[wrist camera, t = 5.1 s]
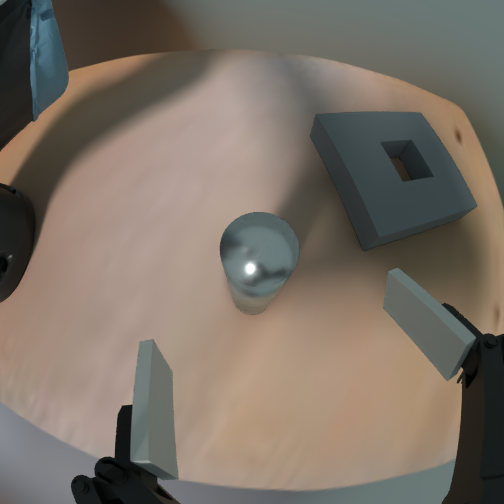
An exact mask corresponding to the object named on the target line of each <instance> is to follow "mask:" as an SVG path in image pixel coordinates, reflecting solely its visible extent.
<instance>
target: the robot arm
mask: <svg viewBox="0 0 504 504" xmlns="http://www.w3.org/2000/svg"><path fill="white" fill-rule="evenodd" d="M68 80H69V73H68V67H67V63H66V58H65V54H64V50H63V46H62V42H61V38H60V34H59V30H58V26H57V22H56V19H55V17H54V12H53V8H52V2H51V0H0V151H1V150H2V149H3V148H4V147H5V146H6V145H7V144H8V143H9V142H10V141H11V140H12V139H13V138H14V137H15V136H16V135H17V134H18V133H19V132H20V131H21V130H22V129H23V128H24V127H26V126H27V125H28V124H29V123H30V122H31V121H33V122H35V121H36V120H37V119H38V116H39V115H40V114H41V113H42V112H43V111H44V110H45V109H46V108H48V107H49V106H50V105H51V104H52V103H54V102H55V101H56V100H57V99H58V98H60V97H61V95H62V94H63V93H64V92H65V90H66V88H67V85H68ZM34 229H35V216H34V209H33V206H32V203H31V201H30V200H29V198H28V197H27V196H25V195H24V194H23V193H22V192H21V191H20V190H18V189H17V188H15V187H12V186H8V185H5V184H2V183H0V302H2V301H4V300H5V299H6V298H7V297H8V296H9V295H10V294H11V293H12V292H13V290H14V289H15V288H16V286H17V284H18V283H19V281H20V279H21V277H22V275H23V272H24V270H25V268H26V265H27V262H28V259H29V256H30V252H31V248H32V244H33V238H34ZM383 309H384V310H385V311H386V312H387V313H388V314H389V315H390V316H391V317H392V318H393V319H394V320H395V322H396V323H397V324H398V325H399V326H400V327H401V328H402V329H403V330H404V332H405V333H406V334H407V335H408V336H409V337H410V338H411V339H412V341H413V342H414V343H415V344H416V345H417V346H418V347H419V349H420V350H421V351H422V352H423V353H424V354H425V355H426V357H427V358H428V359H429V360H430V361H431V363H432V364H433V365H434V366H435V367H436V368H437V370H438V371H439V372H440V373H441V375H442V376H443V377H444V378H445V379H446V381H448V380H450V379H451V378H452V377H454V376H455V375H456V374H457V373H458V371H459V369H460V368H461V367H462V368H463V372H462V373H461V375H460V377H459V378H458V380H457V383H459V382H460V380H461V379H462V382H461V384H462V408H461V423H460V434H459V442H458V450H457V456H456V462H455V468H454V473H453V477H452V482H451V486H450V490H449V492H448V494H447V496H446V497H445V498H444V500H443V502H442V504H504V334H501V335H499V336H494V335H493V334H489V333H488V334H484V335H483V334H482V333H481V332H480V331H479V330H478V329H477V328H476V327H475V326H473V325H472V324H471V323H470V322H469V321H468V320H467V319H466V318H464V316H463V315H462V314H459V312H458V311H457V310H456V309H455V308H454V307H453V306H450V305H448V304H446V303H444V304H442V305H441V304H440V303H439V302H438V301H437V300H436V299H434V298H433V297H432V296H431V295H430V294H429V293H428V292H426V291H425V290H424V289H423V288H422V287H421V286H419V285H418V284H417V283H416V282H415V281H413V280H412V279H411V278H410V277H409V276H407V275H406V274H405V273H404V272H403V271H401V270H400V269H399V268H395V269H393V270H390V271H388V274H387V283H386V291H385V298H384V305H383ZM116 433H117V434H116V442H115V458H112V457H103V458H101V459H99V461H98V462H97V463H96V465H95V468H94V469H95V476H96V477H94V478H89V477H87V476H84V475H78V476H76V477H75V478H74V479H73V480H72V483H71V489H72V493H73V495H74V498H75V501H76V503H77V504H180V503H179V502H178V501H177V500H176V499H174V498H173V497H172V496H171V495H170V494H169V493H168V492H167V491H166V490H165V489H163V488H162V487H161V486H160V485H159V484H158V483H157V477H158V478H160V479H162V480H175V479H179V477H178V467H177V457H176V445H175V430H174V411H173V372H172V370H171V369H170V367H169V365H168V364H167V362H166V360H165V359H164V357H163V355H162V354H161V352H160V350H159V349H158V347H157V345H156V343H155V342H154V340H153V339H151V340H146V341H141V342H140V344H139V351H138V359H137V367H136V375H135V385H134V396H133V405H124V406H122V407H121V409H120V411H119V413H118V417H117V428H116Z"/></svg>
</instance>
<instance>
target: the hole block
mask: <svg viewBox="0 0 504 504" xmlns="http://www.w3.org/2000/svg"><path fill="white" fill-rule="evenodd" d="M310 137H311V139H312V141H313V143H314V145H315V147H316V148H317V150H318V152H319V154H320V156H321V158H322V160H323V162H324V164H325V166H326V168H327V170H328V172H329V174H330V176H331V178H332V180H333V182H334V185H335V187H336V189H337V191H338V193H339V195H340V197H341V200H342V202H343V204H344V206H345V209H346V211H347V213H348V215H349V218H350V220H351V222H352V225H353V227H354V230H355V232H356V234H357V237H358V239H359V242H360V244H361V247H362V250H363V251H364V250H367V249H370V248H374V247H377V246H380V245H383V244H386V243H389V242H392V241H395V240H398V239H401V238H405V237H408V236H411V235H414V234H417V233H420V232H422V231H425V230H428V229H431V228H434V227H437V226H440V225H443V224H446V223H449V222H451V221H454V220H457V219H460V218H462V217H463V216H465V215H466V214H467V213H469V212H470V211H472V210H473V209H474V208H476V207H477V204H476V202H475V200H474V198H473V196H472V194H471V192H470V190H469V188H468V186H467V184H466V182H465V180H464V178H463V176H462V175H461V173H460V171H459V169H458V168H457V166H456V164H455V162H454V161H453V159H452V157H451V156H450V154H449V153H448V151H447V149H446V148H445V146H444V145H443V143H442V142H441V140H440V139H439V137H438V136H437V134H436V133H435V131H434V130H433V129H432V127H431V126H430V124H429V123H428V122H427V120H426V119H425V118H424V116H423V115H422V114H421V113H416V112H345V113H329V114H316V117H315V120H314V124H313V127H312V131H311V134H310ZM395 157H399V158H400V159H401V161H402V163H403V164H404V166H405V168H406V170H407V171H408V173H409V175H410V177H411V179H412V180H411V181H405V182H403V181H402V179H401V177H400V175H399V174H398V172H397V170H396V168H395V167H394V165H393V163H392V161H391V160H390V158H395Z"/></svg>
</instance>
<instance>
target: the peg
mask: <svg viewBox="0 0 504 504" xmlns="http://www.w3.org/2000/svg"><path fill="white" fill-rule="evenodd" d="M220 256H221V260H222V264H223V267H224V271H225V274H226V278H227V281H228V285H229V288H230V291H231V295H232V298H233V301H234V304H235V306H236V307H237V308H238V310H240V311H241V312H243V313H245V314H248V315H256V314H259V313H262V312H263V311H265V310H266V309H267V307H268V306H269V305H270V303H271V302H272V300H273V299H274V298H275V296H276V295H277V293H278V292H279V291H280V289H281V288H282V286H283V285H284V283H285V282H286V280H287V279H288V278H289V276H290V275H291V273H292V272H293V270H294V269H295V267H296V265H297V262H298V259H299V242H298V239H297V236H296V234H295V232H294V231H293V229H292V228H291V227H290V225H289V224H288V223H287V222H285V221H284V220H283V219H281V218H279V217H278V216H275V215H273V214H270V213H265V212H253V213H248V214H245V215H243V216H240V217H239V218H237V219H235V220H234V221H233V222H232V223H231V224H230V225H229V226H228V227H227V228H226V230H225V232H224V233H223V236H222V238H221V242H220Z"/></svg>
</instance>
